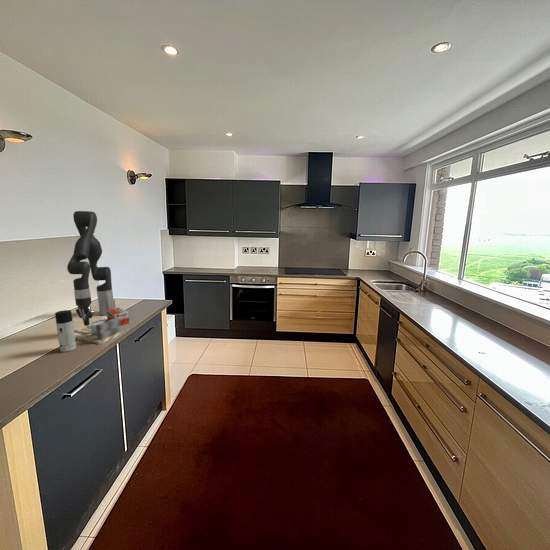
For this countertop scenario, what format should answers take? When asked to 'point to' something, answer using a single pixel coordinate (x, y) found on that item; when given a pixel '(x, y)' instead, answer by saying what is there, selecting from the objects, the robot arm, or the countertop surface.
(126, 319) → the medicine box
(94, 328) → the gauge slider
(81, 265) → the robot arm
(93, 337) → the base
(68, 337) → the spray can
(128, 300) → the countertop surface
